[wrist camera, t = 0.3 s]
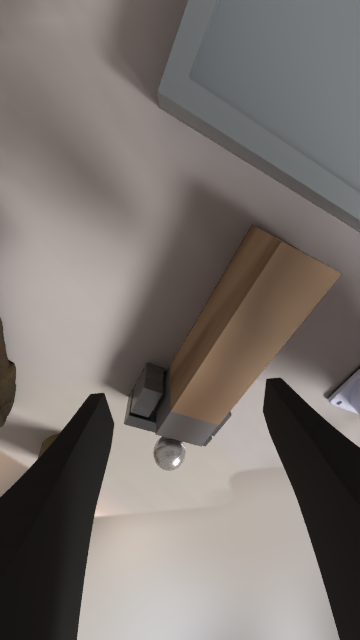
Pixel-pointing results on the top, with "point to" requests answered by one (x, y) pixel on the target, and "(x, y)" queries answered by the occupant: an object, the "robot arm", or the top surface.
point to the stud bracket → (144, 417)
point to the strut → (239, 333)
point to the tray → (275, 91)
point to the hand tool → (6, 381)
